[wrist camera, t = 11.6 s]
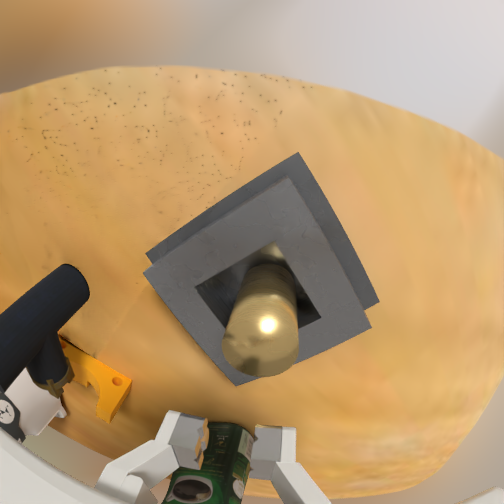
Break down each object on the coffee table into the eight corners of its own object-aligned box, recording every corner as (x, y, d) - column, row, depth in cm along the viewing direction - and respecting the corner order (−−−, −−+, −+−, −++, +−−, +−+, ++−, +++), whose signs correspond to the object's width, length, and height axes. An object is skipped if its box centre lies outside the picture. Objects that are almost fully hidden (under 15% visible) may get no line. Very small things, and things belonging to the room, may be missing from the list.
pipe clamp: (60, 353, 32) (35, 378, 25) (59, 333, 30) (31, 359, 24) (129, 396, 32) (109, 429, 26) (132, 379, 30) (110, 414, 24)
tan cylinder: (259, 320, 24) (248, 385, 16) (231, 279, 23) (206, 336, 15) (305, 297, 23) (312, 360, 15) (277, 253, 22) (273, 304, 14)
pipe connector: (100, 348, 30) (39, 436, 16) (69, 334, 30) (6, 411, 17) (88, 271, 25) (-11, 365, 12) (54, 258, 25) (-41, 335, 12)
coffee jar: (200, 448, 34) (168, 549, 17) (177, 418, 32) (131, 533, 14) (262, 448, 32) (245, 563, 15) (247, 417, 30) (220, 554, 12)
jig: (237, 363, 27) (228, 397, 22) (149, 250, 24) (122, 270, 19) (377, 297, 23) (393, 327, 18) (297, 152, 20) (301, 150, 15)
